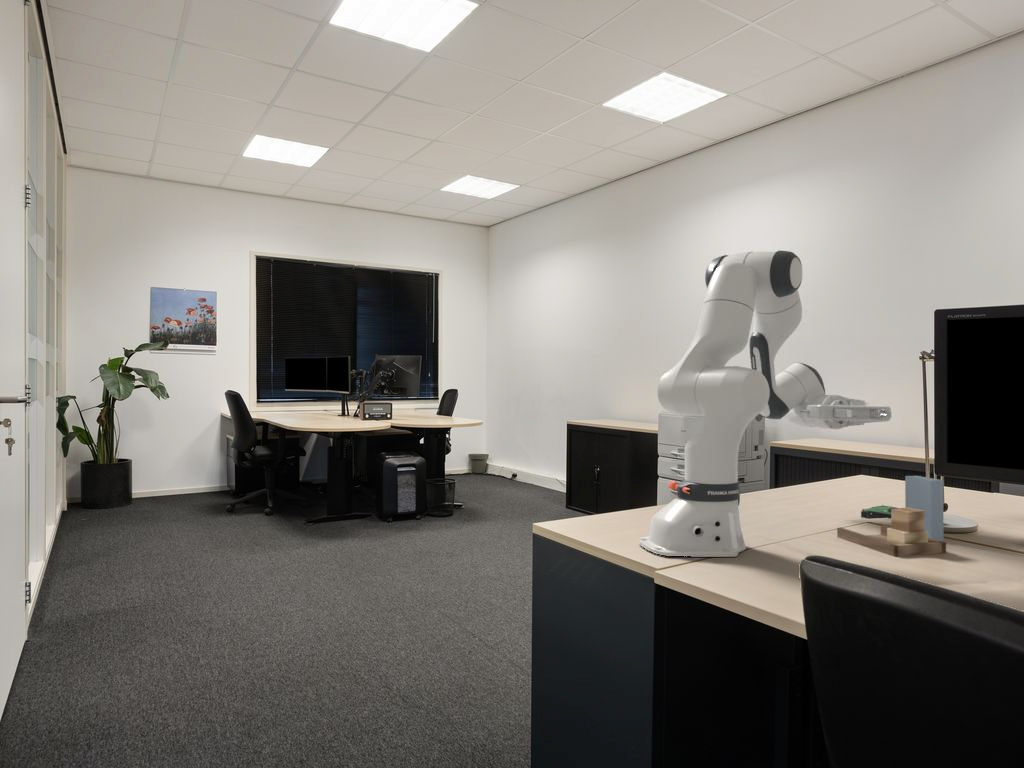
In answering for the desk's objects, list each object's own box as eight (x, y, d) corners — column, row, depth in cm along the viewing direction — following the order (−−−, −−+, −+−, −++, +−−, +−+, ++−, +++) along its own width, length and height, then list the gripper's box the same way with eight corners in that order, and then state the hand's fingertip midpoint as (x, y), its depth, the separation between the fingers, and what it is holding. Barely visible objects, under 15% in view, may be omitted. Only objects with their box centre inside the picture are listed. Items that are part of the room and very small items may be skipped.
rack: (893, 563, 125) (893, 546, 125) (837, 543, 141) (837, 527, 141) (946, 560, 127) (946, 542, 127) (884, 540, 143) (884, 525, 143)
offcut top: (908, 532, 128) (908, 512, 128) (891, 528, 131) (891, 509, 131) (924, 530, 129) (924, 510, 129) (906, 526, 133) (906, 507, 133)
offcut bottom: (904, 553, 127) (904, 533, 127) (887, 547, 132) (887, 528, 132) (928, 551, 128) (928, 531, 128) (910, 546, 133) (910, 526, 133)
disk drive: (941, 525, 161) (881, 514, 173) (941, 514, 161) (882, 504, 173) (919, 531, 155) (859, 519, 168) (920, 519, 155) (860, 508, 168)
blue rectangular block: (931, 546, 137) (931, 480, 137) (905, 538, 144) (905, 476, 144) (943, 545, 137) (943, 480, 137) (916, 537, 144) (916, 475, 144)
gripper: (796, 399, 164) (833, 399, 151) (866, 400, 168) (908, 401, 154) (795, 423, 164) (832, 426, 151) (865, 424, 168) (907, 427, 154)
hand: (871, 413), depth 153 cm, fingers open, 8 cm apart
